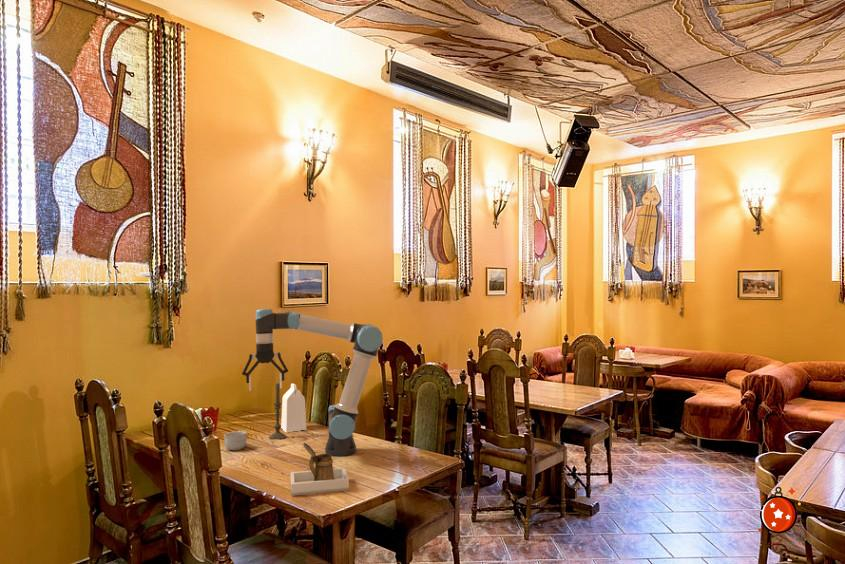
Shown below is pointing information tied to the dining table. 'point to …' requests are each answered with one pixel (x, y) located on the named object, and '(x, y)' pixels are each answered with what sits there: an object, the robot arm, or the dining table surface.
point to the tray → (318, 483)
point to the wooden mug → (320, 465)
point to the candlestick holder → (277, 415)
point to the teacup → (235, 440)
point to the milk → (293, 410)
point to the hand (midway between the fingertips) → (265, 389)
